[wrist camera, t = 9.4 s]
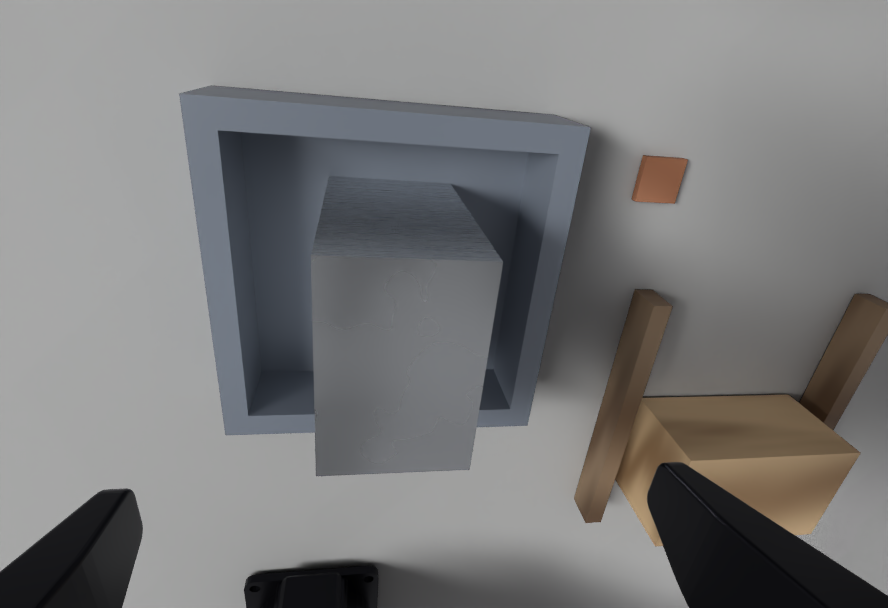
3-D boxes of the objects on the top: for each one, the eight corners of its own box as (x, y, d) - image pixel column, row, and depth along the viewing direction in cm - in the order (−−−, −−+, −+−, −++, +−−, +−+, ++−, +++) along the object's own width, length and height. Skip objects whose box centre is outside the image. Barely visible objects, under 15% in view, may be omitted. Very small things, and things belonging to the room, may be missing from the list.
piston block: (751, 469, 27) (810, 533, 23) (613, 476, 25) (655, 546, 22) (788, 394, 24) (860, 452, 21) (640, 398, 23) (691, 460, 20)
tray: (506, 379, 21) (527, 425, 19) (243, 382, 20) (225, 435, 17) (554, 114, 17) (591, 127, 14) (211, 85, 15) (179, 93, 12)
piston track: (768, 486, 28) (788, 508, 26) (552, 499, 25) (562, 524, 24) (931, 176, 20) (972, 185, 19) (643, 155, 18) (665, 163, 16)
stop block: (434, 336, 19) (469, 469, 13) (329, 335, 19) (315, 476, 13) (449, 183, 17) (502, 262, 11) (328, 176, 16) (310, 254, 10)
